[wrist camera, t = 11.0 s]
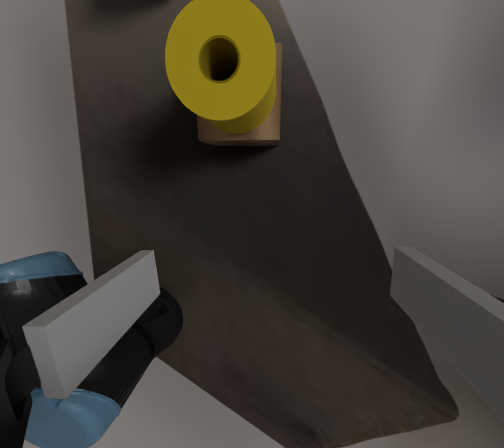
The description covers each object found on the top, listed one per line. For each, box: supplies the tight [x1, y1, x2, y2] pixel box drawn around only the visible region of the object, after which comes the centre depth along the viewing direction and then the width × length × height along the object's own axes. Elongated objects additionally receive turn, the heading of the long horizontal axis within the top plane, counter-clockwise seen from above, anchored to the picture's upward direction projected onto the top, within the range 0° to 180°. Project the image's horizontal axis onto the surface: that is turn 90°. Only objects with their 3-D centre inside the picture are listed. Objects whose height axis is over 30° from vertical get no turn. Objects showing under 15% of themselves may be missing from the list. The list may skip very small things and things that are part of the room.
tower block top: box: [197, 43, 282, 143], centre depth 32 cm, size 11×11×4 cm
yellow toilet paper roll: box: [165, 0, 276, 134], centre depth 26 cm, size 10×10×9 cm
